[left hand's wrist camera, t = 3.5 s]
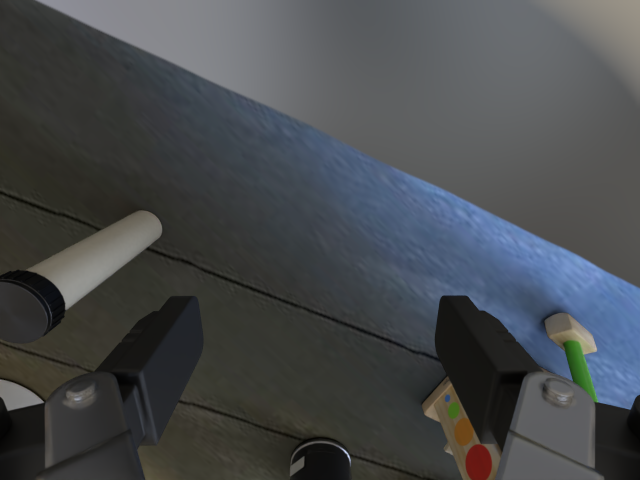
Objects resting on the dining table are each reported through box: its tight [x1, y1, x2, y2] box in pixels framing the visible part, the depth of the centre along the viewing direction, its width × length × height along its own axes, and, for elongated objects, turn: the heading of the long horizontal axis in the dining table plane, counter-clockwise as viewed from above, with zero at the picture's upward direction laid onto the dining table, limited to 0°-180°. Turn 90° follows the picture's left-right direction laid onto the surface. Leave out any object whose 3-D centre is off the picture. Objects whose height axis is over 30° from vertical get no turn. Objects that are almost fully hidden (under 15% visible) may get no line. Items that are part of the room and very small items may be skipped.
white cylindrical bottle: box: [24, 210, 162, 310], centre depth 32 cm, size 4×4×19 cm
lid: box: [0, 270, 66, 343], centre depth 24 cm, size 5×5×2 cm
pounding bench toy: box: [422, 313, 598, 480], centre depth 40 cm, size 23×14×18 cm, turn 149°
